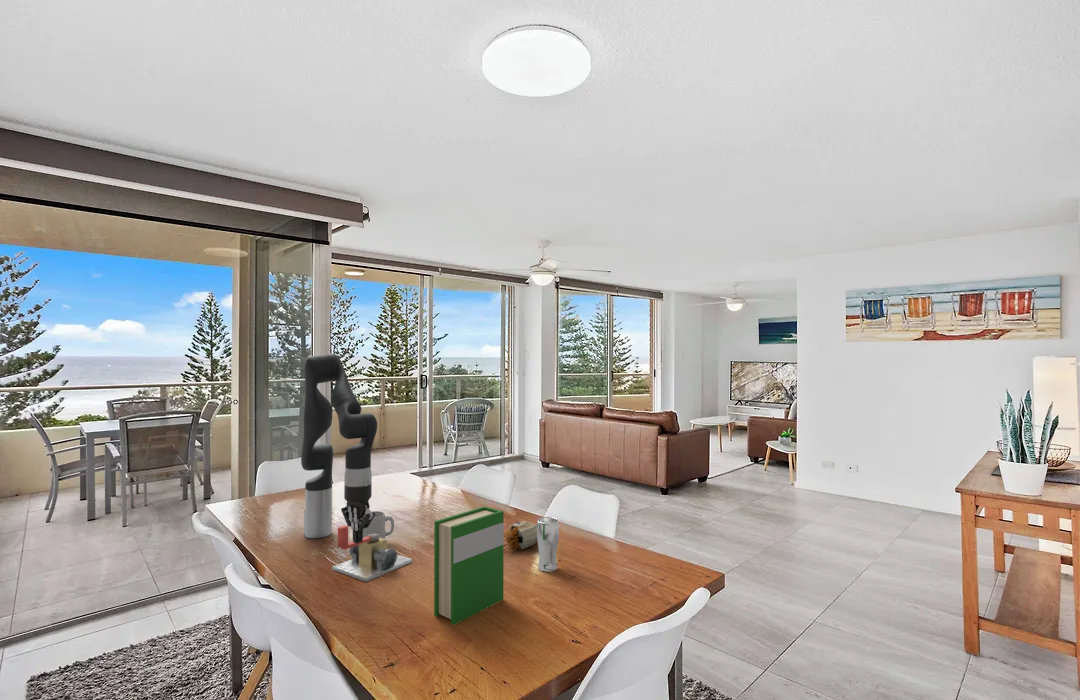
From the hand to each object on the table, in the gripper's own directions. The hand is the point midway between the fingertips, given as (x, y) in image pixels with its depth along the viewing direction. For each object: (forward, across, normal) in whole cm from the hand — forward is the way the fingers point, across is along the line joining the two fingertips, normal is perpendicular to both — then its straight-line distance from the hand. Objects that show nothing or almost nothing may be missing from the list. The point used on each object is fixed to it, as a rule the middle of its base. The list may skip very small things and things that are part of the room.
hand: (357, 542), depth 152 cm
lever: (+4, -7, +6) cm, 10 cm away
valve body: (+12, -7, +11) cm, 18 cm away
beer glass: (+12, +40, +40) cm, 58 cm away
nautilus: (+12, +20, +50) cm, 55 cm away
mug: (+12, -21, +24) cm, 34 cm away
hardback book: (+12, +37, +7) cm, 40 cm away
